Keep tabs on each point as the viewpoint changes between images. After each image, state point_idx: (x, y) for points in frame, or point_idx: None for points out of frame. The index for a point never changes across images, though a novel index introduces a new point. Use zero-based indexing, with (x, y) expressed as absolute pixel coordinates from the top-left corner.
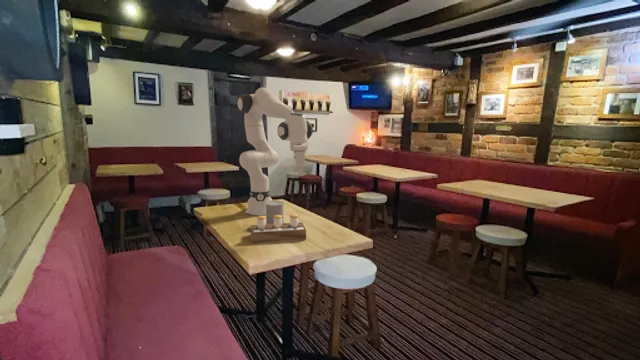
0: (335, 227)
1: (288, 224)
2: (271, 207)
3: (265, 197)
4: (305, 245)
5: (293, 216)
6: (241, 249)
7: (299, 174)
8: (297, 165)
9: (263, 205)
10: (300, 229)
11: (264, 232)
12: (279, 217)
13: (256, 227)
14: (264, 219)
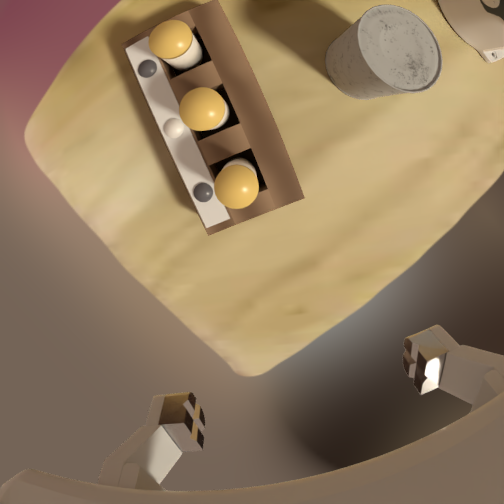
0: (358, 293)
1: (261, 144)
2: (354, 36)
3: (499, 16)
4: (161, 232)
5: (214, 189)
6: (84, 56)
7: (151, 407)
8: (13, 482)
9: (473, 13)
10: (200, 215)
11: (139, 84)
12: (184, 123)
13: (196, 27)
14: (164, 58)
